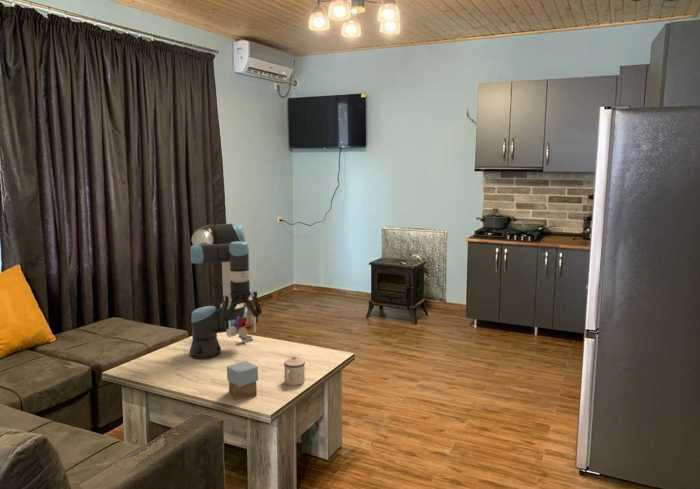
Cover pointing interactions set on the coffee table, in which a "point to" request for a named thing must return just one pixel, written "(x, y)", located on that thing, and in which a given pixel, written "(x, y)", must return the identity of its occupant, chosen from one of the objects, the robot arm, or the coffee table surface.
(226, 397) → the coffee table surface
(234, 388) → the walnut brick
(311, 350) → the coffee table surface
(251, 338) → the elephant figurine
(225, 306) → the robot arm
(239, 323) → the rainbow petal toy
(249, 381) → the gray brick
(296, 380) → the teacup with lid
